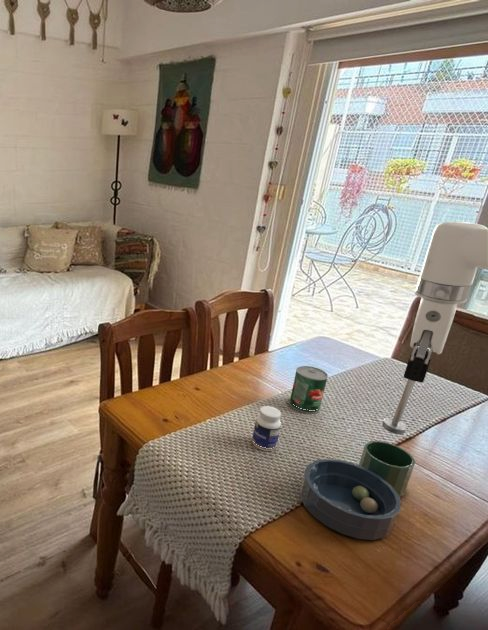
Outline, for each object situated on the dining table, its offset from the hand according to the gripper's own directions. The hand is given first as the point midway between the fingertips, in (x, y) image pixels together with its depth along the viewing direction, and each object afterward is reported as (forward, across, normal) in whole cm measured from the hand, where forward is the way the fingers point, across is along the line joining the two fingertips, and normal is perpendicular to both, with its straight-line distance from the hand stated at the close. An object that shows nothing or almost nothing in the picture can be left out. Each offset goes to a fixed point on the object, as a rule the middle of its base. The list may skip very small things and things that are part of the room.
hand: (414, 376), depth 88 cm
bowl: (+27, -14, +4) cm, 31 cm away
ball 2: (+25, -12, 0) cm, 28 cm away
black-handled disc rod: (+13, 0, +1) cm, 13 cm away
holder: (+27, 0, 0) cm, 27 cm away
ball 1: (+25, -10, +2) cm, 27 cm away
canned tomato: (+27, +22, +22) cm, 41 cm away
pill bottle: (+27, -4, +24) cm, 36 cm away
